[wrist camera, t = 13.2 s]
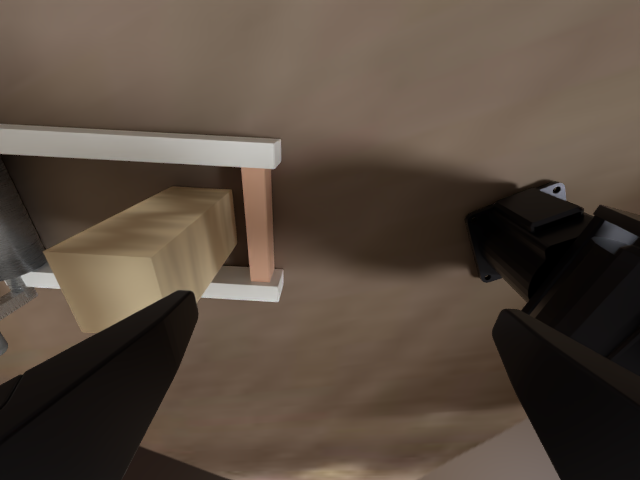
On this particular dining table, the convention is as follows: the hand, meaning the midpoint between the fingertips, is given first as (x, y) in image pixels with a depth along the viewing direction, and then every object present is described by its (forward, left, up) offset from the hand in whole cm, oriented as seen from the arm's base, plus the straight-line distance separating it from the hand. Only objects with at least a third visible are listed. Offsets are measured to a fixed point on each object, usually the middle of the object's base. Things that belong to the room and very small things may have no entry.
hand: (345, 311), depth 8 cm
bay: (+4, +16, -13) cm, 21 cm away
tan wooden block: (+2, +10, -13) cm, 17 cm away
